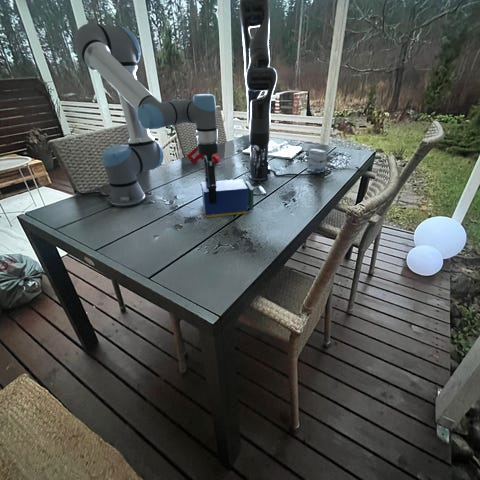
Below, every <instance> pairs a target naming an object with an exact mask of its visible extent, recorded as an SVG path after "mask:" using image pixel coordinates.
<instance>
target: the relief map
mask: <svg viewBox="0 0 480 480" xmlns="http://www.w3.org/2000/svg"><path fill="white" fill-rule="evenodd" d="M302 147H303V146H294V145H292V144H290V143H289V142H288V141H284V142H282V143H280V144H279V143H278V142H276V141H273V140H272V139H271V138H269V145H268V157H271V158H277V159H286V160H287V159H288V160H292V159H293V158H295V157H296V156H297V155H298V154H299V153H300V152H302V151H303V150H304V148H303V149H302ZM250 148H251V145H250V146H249V147H248V148H247V149H245V150H242V153H243V154H247V155H248V154H249V155H250ZM296 153H297V154H296Z"/></svg>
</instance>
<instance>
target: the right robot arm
mask: <svg viewBox="0 0 480 480" xmlns="http://www.w3.org/2000/svg"><path fill="white" fill-rule="evenodd" d="M238 5H239V7H238V9H239V20H240V21H239V22H240V28H241V36H242V47H243V61H244V80H245V88H246V89H245V90H246V102H247V104H246V105H247V108H246V109H247V111H246V112H247V113H246V115H247V128H248V130H249V137H248V138H249V141H248V142H249V145H250V146H251V148H250V154H249V157H250V158H249V160H250V161H249V165H250V166H249V167H250V168H249V171H248V173H249V178H250V180H253V181H256V182H257V181H265V180H268V179H269V175H271V172H272V173H273V175H274V177H285V176H298V177H301V176H302V177H303V176H304V177H305V176H315V175H321V174H323V173H324V174H325V173H328V172H331V171H334V170H337V169H336V168H335V167H332V168H333V169H331V168H329V169H330V170H328V169H326V170H327V171H325V170H324V172H320V173H316V172H313V173H314V174H310V173H283V174H277V172H276V171H274V170H273V169H271V166H270V165H269V156H268V145H269V139H270V129H271V118H272V117H271V104H272V99H273V95H274V91H275V88H276V84H277V80H278V74H277V70H276V69H275V68H274V67H272V66H270V62H271V57H270V46H269V45H270V43H269V42H270V41H269V40H270V28H271V27H270V26H271V25H270V23H271V7H270V0H239V4H238ZM252 28H257V30H256V32H255V33H254V35H253V36H252V34H251V31H250V29H252ZM262 92H264V94H263V95H262V96H261V94H262ZM260 96H261V97H260ZM355 169H357V170H360V167H358V166H357V167H355Z"/></svg>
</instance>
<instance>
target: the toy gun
mask: <svg viewBox="0 0 480 480" xmlns="http://www.w3.org/2000/svg"><path fill="white" fill-rule="evenodd" d="M186 157H187V159H188V160H189V161H190V162H191V163H192V164H194V163H197V162H198V161H199V160H200V159H201V160H202V161H203V157H204V155H201V154H199V153H198V145H196V147H195V148H194V149H193V150H191V151H190V152H189V153H188V154H187V155H186ZM212 157H213V158H214V160H215V162H214V166H215V165H217V164H219V163H220V160H221V156H220V155H218V153H216V154H213V155H212Z"/></svg>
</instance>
